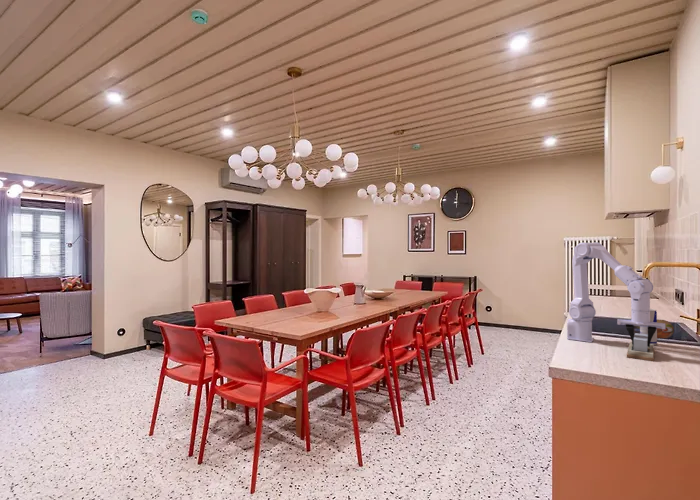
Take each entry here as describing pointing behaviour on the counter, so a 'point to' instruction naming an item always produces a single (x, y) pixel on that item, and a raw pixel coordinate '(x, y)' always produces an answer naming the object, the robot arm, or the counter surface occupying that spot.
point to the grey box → (640, 342)
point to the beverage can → (645, 329)
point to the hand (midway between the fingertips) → (640, 345)
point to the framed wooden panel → (641, 353)
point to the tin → (660, 332)
